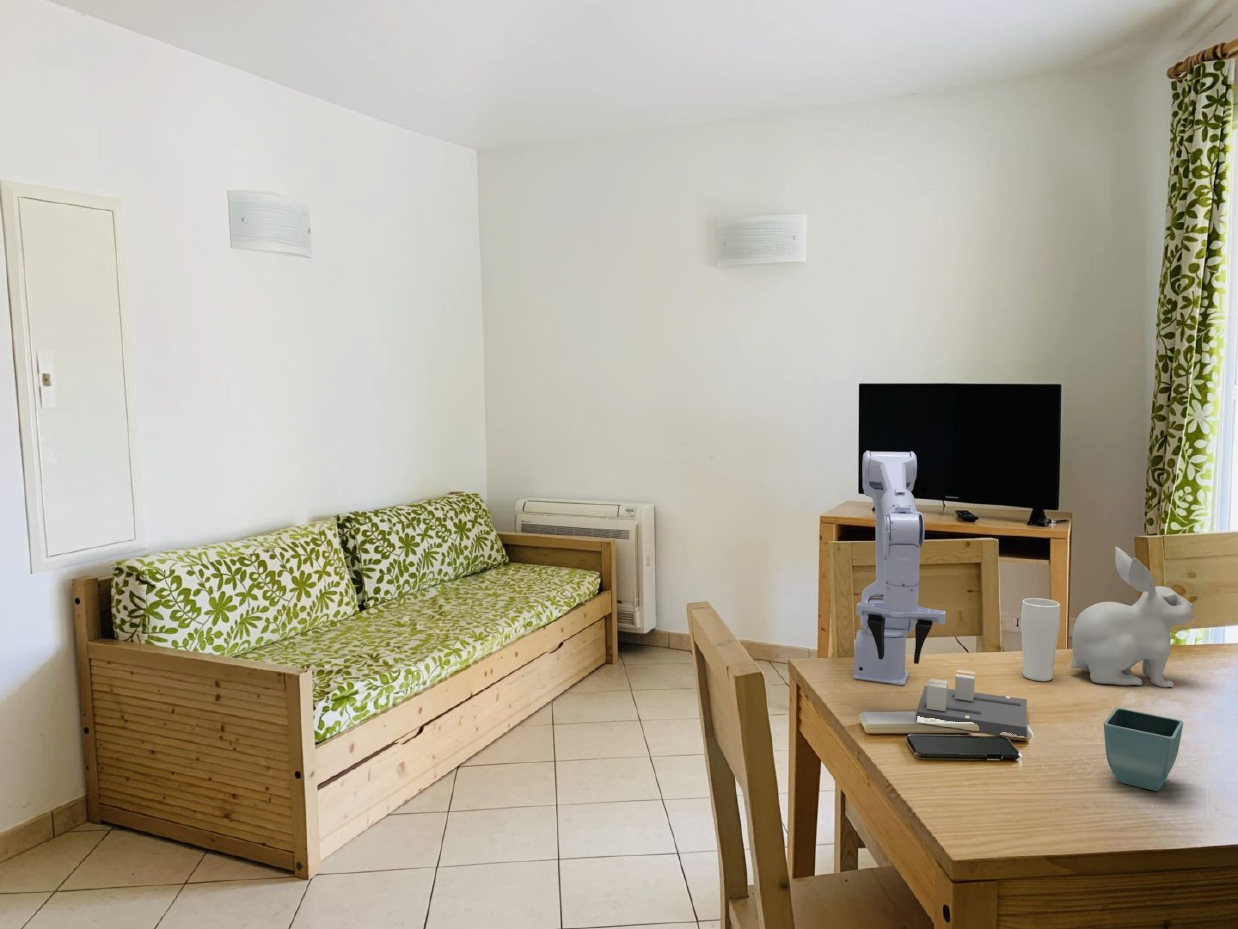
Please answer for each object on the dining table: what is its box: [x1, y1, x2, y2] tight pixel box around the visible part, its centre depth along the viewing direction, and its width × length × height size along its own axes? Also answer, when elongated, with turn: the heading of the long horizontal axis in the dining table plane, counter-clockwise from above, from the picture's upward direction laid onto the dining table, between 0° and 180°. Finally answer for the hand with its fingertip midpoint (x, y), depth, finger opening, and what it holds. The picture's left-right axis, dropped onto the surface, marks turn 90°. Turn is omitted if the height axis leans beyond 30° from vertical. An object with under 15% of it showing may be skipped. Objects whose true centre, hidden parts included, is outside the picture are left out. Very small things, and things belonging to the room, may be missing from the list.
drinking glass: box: [1020, 597, 1061, 682], centre depth 175 cm, size 7×7×15 cm
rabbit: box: [1070, 546, 1194, 688], centre depth 173 cm, size 12×21×25 cm, turn 77°
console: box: [915, 685, 1028, 738], centre depth 155 cm, size 17×14×2 cm
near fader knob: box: [926, 678, 949, 711], centre depth 154 cm, size 3×4×4 cm
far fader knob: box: [954, 669, 976, 701], centre depth 159 cm, size 3×4×4 cm
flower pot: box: [1103, 707, 1184, 792], centre depth 130 cm, size 9×9×9 cm
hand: (898, 660), depth 156 cm, fingers open, 5 cm apart
